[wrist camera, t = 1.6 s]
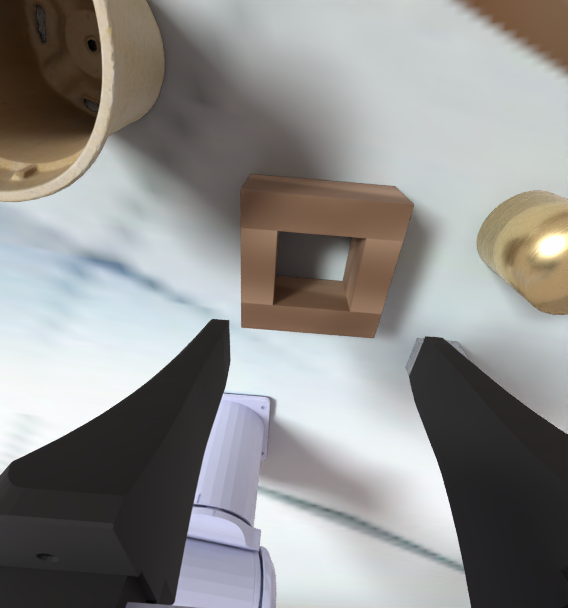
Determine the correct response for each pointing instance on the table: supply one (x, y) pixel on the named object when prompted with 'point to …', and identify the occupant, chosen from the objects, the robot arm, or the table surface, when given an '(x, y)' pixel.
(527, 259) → the round bit
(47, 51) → the flower pot
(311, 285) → the block
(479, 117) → the table surface
